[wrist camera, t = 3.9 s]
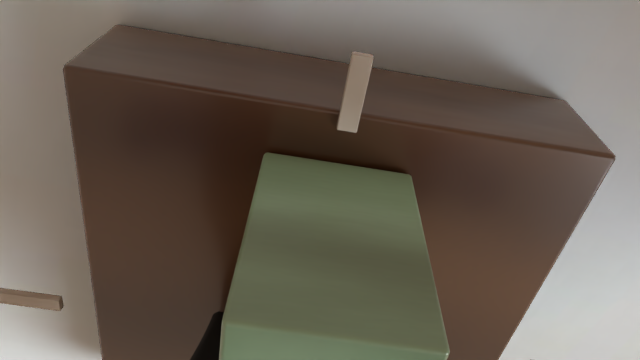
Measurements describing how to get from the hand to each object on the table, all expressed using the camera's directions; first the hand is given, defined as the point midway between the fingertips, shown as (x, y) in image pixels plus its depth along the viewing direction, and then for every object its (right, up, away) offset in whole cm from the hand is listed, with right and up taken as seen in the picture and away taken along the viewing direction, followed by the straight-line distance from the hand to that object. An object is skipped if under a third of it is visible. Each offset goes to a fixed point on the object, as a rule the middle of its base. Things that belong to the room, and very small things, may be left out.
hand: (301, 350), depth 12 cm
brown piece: (0, +2, +2) cm, 3 cm away
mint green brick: (0, 0, 0) cm, 0 cm away
